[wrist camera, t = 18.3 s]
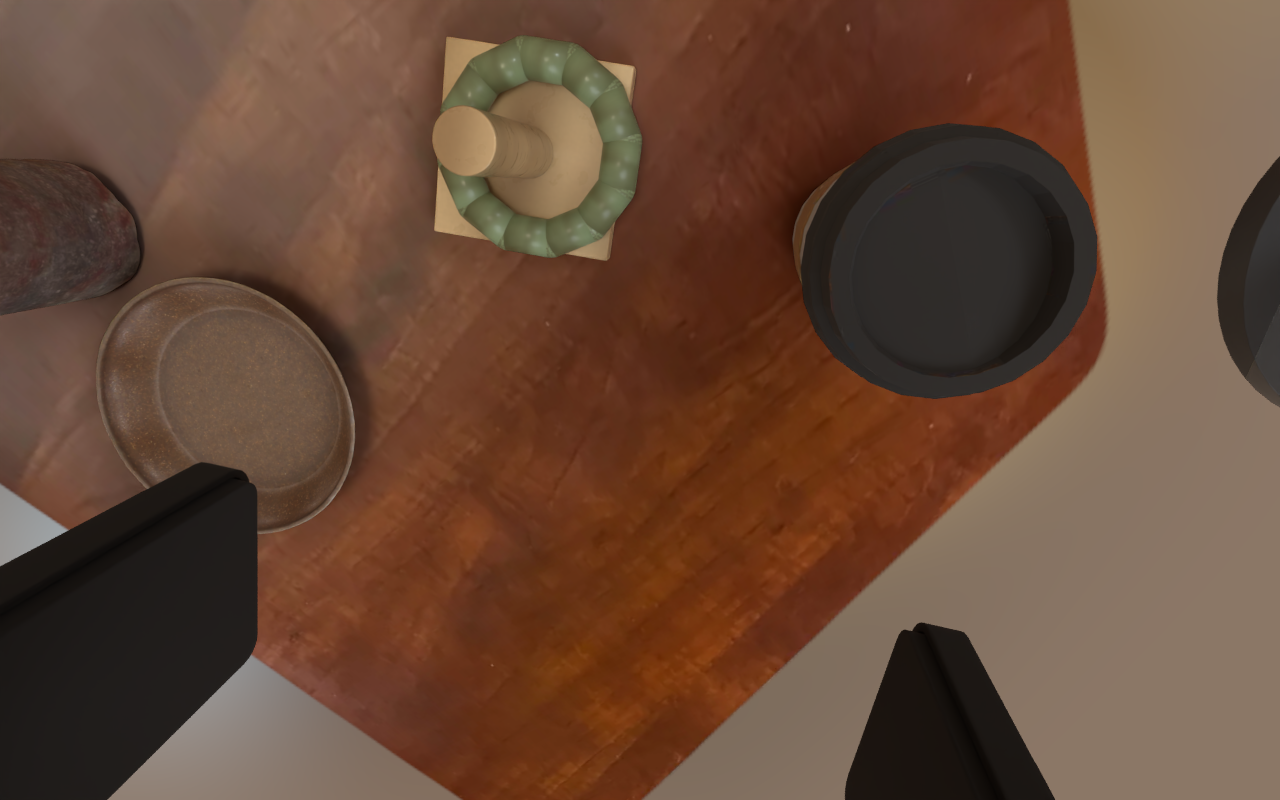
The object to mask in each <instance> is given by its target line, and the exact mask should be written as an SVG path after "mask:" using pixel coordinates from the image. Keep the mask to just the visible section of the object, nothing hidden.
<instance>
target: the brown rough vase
mask: <svg viewBox="0 0 1280 800" xmlns="http://www.w3.org/2000/svg"><path fill="white" fill-rule="evenodd" d="M139 261H140V249H139V243H138V241H137V232H136V226H135V223H134V219H133V217H132V215H131V214H130V213H129V211H128V210H127V209H126V208H125V207H124V206H123V205H122V204H121V203H120V202H119V201H118V200H117V199H116V198H115V196H114V195H113V194H112V193H111V192H110V191H109V190H108V189H107V188H106V187H105V186H104V185H103V183H102V182H101V181H100V180H99V179H98V178H97V177H96V176H95V175H93V174H92V173H91V172H88V171H86V170H83V169H81V168H79V167H78V166H76V165H74V164H70V163H65V162H59V161H53V160H36V159H24V160H17V159H0V315H4V314H10V313H16V312H21V311H27V310H32V309H37V308H43V307H49V306H54V305H59V304H64V303H69V302H74V301H80V300H85V299H90V298H94V297H98V296H101V295H104V294H106V293H108V292H110V291H112V290H114V289H115V288H117V287H118V286H120V285H122V284H123V283H125V282H126V281H128V280H130V279H131V278H132V276H133V275H134V274H135V273H136V271H137V268H138V265H139Z"/></svg>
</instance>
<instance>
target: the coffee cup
mask: <svg viewBox="0 0 1280 800" xmlns="http://www.w3.org/2000/svg"><path fill="white" fill-rule="evenodd" d="M792 241H793V251H794V259H795V267H796V270H797V273H798V276H799V279H800V282H801V284H802V289H803V299H804V304H805V306H806V309H807V311H808V314H809V316H810V319H811V322H812V324H813V327H814V329H815V332H816V333H817V335H818V336H819V337H820V339H821V340H822V341H823V342H824V344H825V345H826V346H827V348H828V349H829V350H830V352H831V353H832V354H833V356H834V357H835V358H836V359H838V360H839V361H840V362H842V363H843V364H844V365H846V366H847V367H848V368H850V369H851V370H852V371H854V372H855V373H856V374H858V375H859V376H860V377H863V378H865V379H866V380H867V381H869V382H870V383H872V384H875V385H877V386H880V387H882V388H885V389H888V390H890V391H893V392H895V393H898V394H900V395H907V396H915V397H924V398H932V399H938V398H946V397H954V396H963V395H970V394H973V393H981V392H984V391H986V390H989V389H992V388H994V387H997V386H1000V385H1003V384H1005V383H1008V382H1011V381H1014V380H1015V379H1017V378H1018V377H1020V376H1021V375H1023V374H1024V373H1026V372H1027V371H1029V370H1031V369H1032V368H1034V367H1035V366H1037V365H1038V364H1040V363H1041V362H1043V361H1044V360H1045V359H1046V358H1047V357H1048V356H1049V355H1050V354H1051V353H1052V352H1053V351H1054V350H1055V349H1056V348H1057V347H1058V346H1059V344H1060V343H1061V342H1062V341H1063V340H1064V339H1065V338H1066V337H1067V336H1068V335H1069V333H1070V332H1071V330H1072V328H1073V327H1074V325H1075V323H1076V322H1077V320H1078V318H1079V317H1080V315H1081V313H1082V311H1083V310H1084V308H1085V306H1086V305H1087V301H1088V298H1089V294H1090V291H1091V288H1092V284H1093V281H1094V278H1095V274H1096V266H1097V235H1096V231H1095V227H1094V224H1093V220H1092V217H1091V213H1090V210H1089V206H1088V203H1087V202H1086V200H1085V199H1084V197H1083V195H1082V193H1081V192H1080V190H1079V189H1078V187H1077V186H1076V184H1075V183H1074V181H1073V180H1072V178H1071V177H1070V175H1069V174H1068V172H1067V171H1066V169H1065V168H1064V166H1063V165H1062V164H1061V163H1060V162H1059V161H1057V160H1056V159H1055V158H1054V157H1052V156H1051V155H1050V154H1049V153H1047V152H1046V151H1045V150H1044V149H1042V148H1041V147H1040V146H1039V145H1038V144H1036V143H1035V142H1033V141H1031V140H1028V139H1025V138H1023V137H1020V136H1018V135H1015V134H1013V133H1010V132H1008V131H1005V130H1003V129H1000V128H991V127H983V126H972V125H961V124H950V123H947V124H942V125H936V126H931V127H925V128H920V129H914V130H910V131H907V132H905V133H903V134H901V135H899V136H896V137H894V138H892V139H890V140H888V141H886V142H883V143H881V144H879V145H877V146H875V147H873V148H872V149H871V150H870V151H868V152H867V153H866V154H865V155H863V156H862V157H861V158H860V159H858V160H857V161H856V162H854V163H852V164H850V165H849V166H847V167H845V168H844V169H842V170H840V171H838V172H837V173H835V174H834V175H832V176H831V177H830V178H829V179H827V180H826V181H825V182H824V183H823V184H821V185H820V186H819V187H818V188H817V189H816V190H814V191H813V193H812V194H811V195H810V196H809V198H808V199H807V200H806V202H805V203H804V204H803V206H802V208H801V210H800V212H799V215H798V217H797V219H796V222H795V227H794V233H793V239H792Z"/></svg>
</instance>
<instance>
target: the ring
mask: <svg viewBox="0 0 1280 800" xmlns="http://www.w3.org/2000/svg"><path fill="white" fill-rule="evenodd" d="M529 80H531V81H537V82H544V83H550V84H556V85H563V86H564V87H565V88H566V89H567V90H569V91H570V92H571V93H572V94H573V95H574V96H576V97H577V98H578V99H579V100H580V101H581V102H583V103H584V104H585V105H586V106H587V107H589V108H590V110H591V113H592V116H593V118H594V121H595V124H596V126H597V129H598V132H599V134H600V137H601V140H602V142H603V147H602V155H601V163H600V171H599V178H598V181H597V182H596V183H595V185H594V186H593V187H592V189H591V190H590V192H589V193H588V194H587V196H586V197H585V198H584V200H583V201H582V202H581V204H580V205H579V206H578V207H577V208H575V209H572V210H570V211H567V212H565V213H562V214H560V215H557V216H555V217H553V218H550V219H544V218H538V217H532V216H526V215H520V214H516V213H515V212H514V211H512V210H511V209H510V208H509V207H507V206H506V205H505V204H504V203H503V202H501V201H500V200H499V199H498V198H497V197H495V196H494V195H493V194H492V193H490V190H489V188H488V185H487V183H486V181H485V178H484V177H474V176H461V175H457V174H454V173H452V172H451V171H449V170H448V169H446V168H445V167H444V166H443V165H442V164H441V162H440V161H439V160H438V158H437V161H438V166H439V169H440V171H441V173H442V176H443V178H444V180H445V183H446V185H447V187H448V189H449V192H450V194H451V196H452V199H453V201H454V203H455V205H456V208H457V210H458V212H459V214H460V215H461V216H462V217H463V218H464V219H465V220H466V221H467V222H469V223H470V224H471V225H472V226H474V227H475V228H476V229H477V230H478V231H480V232H481V233H482V234H483V235H485V236H486V237H487V238H488V239H490V240H491V241H492V242H493V243H494V244H496V245H497V246H498V247H500V248H501V249H504V250H507V251H513V252H519V253H525V254H531V255H537V256H543V257H549V258H554V257H558V256H561V255H563V254H566V253H568V252H571V251H573V250H576V249H578V248H581V247H583V246H586V245H588V244H591V243H593V242H596V241H598V240H600V239H601V238H602V237H603V236H604V235H605V234H606V233H607V232H608V230H609V229H610V228H611V226H612V225H613V224H614V222H615V221H616V220H617V218H618V217H619V216H620V214H621V213H622V212H623V211H624V209H625V208H626V207H627V205H628V204H629V203H630V201H631V200H632V198H633V197H634V194H635V190H636V183H637V176H638V169H639V162H640V156H641V149H642V135H641V132H640V129H639V127H638V124H637V121H636V118H635V116H634V113H633V110H632V107H631V105H630V102H629V99H628V96H627V93H626V91H625V88H624V86H623V84H622V82H621V81H620V80H619V79H618V78H617V77H616V76H615V75H614V74H612V73H611V72H610V71H609V70H608V69H607V68H605V67H604V66H603V65H602V64H601V63H600V62H598V61H597V60H596V59H595V58H594V57H593V56H592V55H590V54H589V53H588V52H587V51H586V50H585V49H583V48H582V47H581V46H580V45H578V44H576V43H572V42H566V41H559V40H552V39H546V38H539V37H533V36H525V35H522V36H518V37H515V38H513V39H511V40H509V41H507V42H505V43H503V44H500V45H498V46H496V47H494V48H492V49H490V50H488V51H486V52H484V53H482V54H479V55H477V56H475V57H474V58H472V59H471V60H470V61H469V62H468V64H467V65H466V67H465V68H464V70H463V72H462V73H461V75H460V76H459V78H458V79H457V81H456V83H455V84H454V86H453V87H452V89H451V91H450V92H449V94H448V95H447V97H446V98H445V100H444V102H443V103H442V106H441V109H440V115H441V114H442V113H443V112H444V111H446V110H447V109H449V108H451V107H454V106H458V105H466V106H471V107H474V108H477V109H480V110H483V111H486V112H487V111H488V110H489V108H490V107H491V105H492V104H493V102H494V100H495V99H496V97H497V96H498V94H500V93H503V92H505V91H507V90H509V89H511V88H513V87H516V86H518V85H520V84H522V83H524V82H526V81H529Z"/></svg>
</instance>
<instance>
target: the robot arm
mask: <svg viewBox="0 0 1280 800" xmlns="http://www.w3.org/2000/svg"><path fill="white" fill-rule="evenodd" d="M256 641H257V489H256V487H255V485H254V484H252V483H250V482H249V478H248V476H247V474H246V473H245V472H243V471H242V470H238V469H234V468H229V467H225V466H220V465H216V464H211V463H206V462H200V463H197V464H194V465H192V466H190V467H189V468H187V469H185V470H183V471H181V472H179V473H177V474H175V475H173V476H171V477H169V478H168V479H166V480H164V481H162V482H160V483H158V484H156V485H154V486H152V487H150V488H149V489H147V490H145V491H143V492H141V493H139V494H137V495H135V496H133V497H131V498H130V499H128V500H126V501H124V502H122V503H120V504H118V505H116V506H114V507H112V508H110V509H109V510H107V511H105V512H103V513H101V514H99V515H97V516H95V517H93V518H91V519H90V520H88V521H86V522H84V523H82V524H80V525H78V526H76V527H74V528H72V529H70V530H69V531H67V532H65V533H63V534H61V535H59V536H57V537H55V538H54V539H51V540H50V541H48V542H46V543H44V544H42V545H40V546H38V547H37V548H34V549H32V550H31V551H29V552H27V553H25V554H23V555H21V556H19V557H17V558H15V559H14V560H11V561H10V562H8V563H6V564H4V565H2V566H0V800H107V799H108V798H109V797H111V795H112V794H114V793H115V792H116V791H117V790H118V788H120V787H121V786H122V785H123V784H124V783H125V782H126V781H127V780H128V779H129V778H130V777H131V776H132V775H133V773H135V772H136V771H137V770H138V768H140V767H141V766H142V765H143V764H144V763H145V762H146V761H147V759H149V758H150V757H151V756H152V755H153V754H154V753H155V752H156V751H157V750H158V749H159V748H160V747H161V746H162V745H163V744H164V743H165V742H166V741H167V740H168V739H169V738H170V737H171V736H172V735H173V734H174V733H175V732H176V731H177V730H178V729H179V728H180V727H181V726H182V725H183V724H184V723H185V722H186V721H187V720H188V719H189V718H190V717H191V716H192V715H193V714H194V713H195V712H196V711H197V710H198V709H199V708H200V707H201V706H202V705H203V704H204V703H205V702H206V701H207V700H208V699H209V698H210V697H211V696H212V695H213V694H214V693H215V692H216V691H217V690H218V689H219V688H220V687H221V686H222V685H223V684H224V683H225V682H226V681H227V680H228V679H229V678H230V677H231V676H232V675H233V674H234V673H235V672H236V671H237V670H238V669H239V668H240V667H241V666H242V665H243V664H244V663H245V662H246V661H247V660H248V658H249V657H250V655H251V654H252V652H253V650H254V647H255V645H256ZM845 800H1055V798H1054V797H1053V795H1052V793H1051V791H1050V789H1049V787H1048V785H1047V783H1046V781H1045V780H1044V778H1043V776H1042V774H1041V772H1040V770H1039V768H1038V766H1037V765H1036V763H1035V762H1034V760H1033V758H1032V756H1031V754H1030V753H1029V751H1028V749H1027V747H1026V745H1025V743H1024V741H1023V739H1022V738H1021V736H1020V734H1019V732H1018V730H1017V728H1016V726H1015V724H1014V723H1013V721H1012V719H1011V717H1010V715H1009V713H1008V711H1007V709H1006V708H1005V706H1004V704H1003V702H1002V700H1001V698H1000V696H999V695H998V693H997V691H996V689H995V687H994V685H993V683H992V681H991V679H990V678H989V676H988V674H987V672H986V670H985V668H984V666H983V664H982V663H981V661H980V659H979V657H978V655H977V653H976V651H975V649H974V648H973V646H972V644H971V642H970V640H969V638H968V637H967V635H966V634H965V633H964V632H961V631H957V630H953V629H948V628H944V627H940V626H935V625H931V624H926V623H918V624H917V625H916V626H915V627H914V629H913V631H908V630H903V631H901V633H900V634H899V636H898V638H897V641H896V643H895V646H894V649H893V652H892V654H891V657H890V660H889V663H888V666H887V668H886V671H885V674H884V677H883V680H882V683H881V685H880V688H879V691H878V693H877V696H876V699H875V702H874V705H873V707H872V710H871V713H870V716H869V719H868V722H867V724H866V727H865V730H864V733H863V736H862V738H861V741H860V744H859V746H858V749H857V752H856V755H855V758H854V761H853V763H852V766H851V769H850V772H849V774H848V778H847V782H846V788H845Z"/></svg>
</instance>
